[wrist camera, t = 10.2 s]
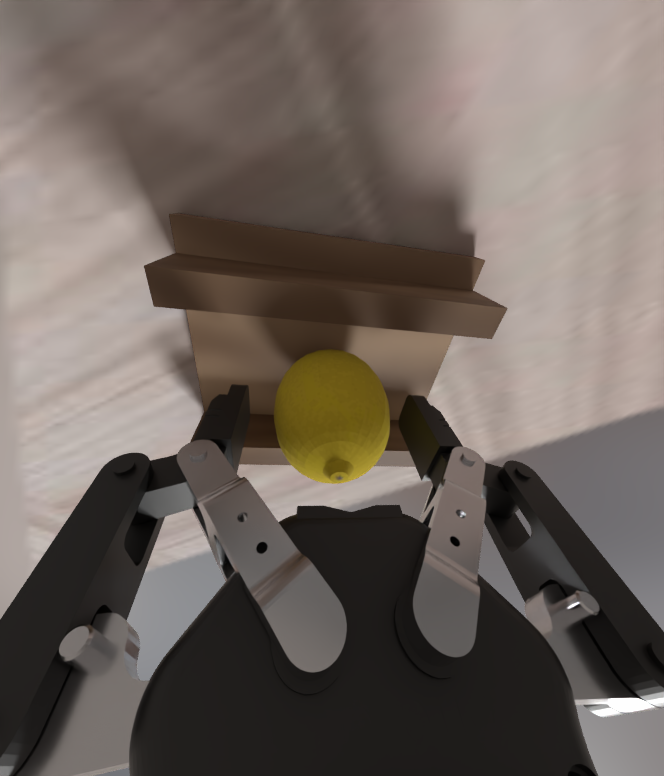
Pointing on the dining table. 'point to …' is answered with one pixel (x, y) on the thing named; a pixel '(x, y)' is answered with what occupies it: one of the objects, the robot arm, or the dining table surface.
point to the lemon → (331, 416)
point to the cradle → (314, 313)
